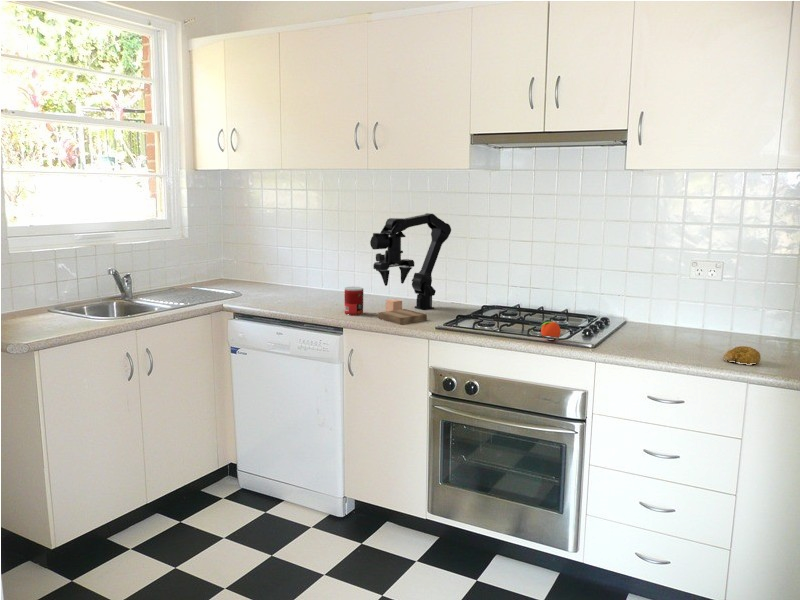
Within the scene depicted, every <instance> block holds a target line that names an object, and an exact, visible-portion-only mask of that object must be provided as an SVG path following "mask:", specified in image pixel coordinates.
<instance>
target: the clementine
mask: <svg viewBox="0 0 800 600" xmlns="http://www.w3.org/2000/svg"><path fill="white" fill-rule="evenodd" d="M539 327H540V328H539V329H541V330H540V334H541V336H542V335H543V336H551V337H558V338H559V337H560V336H561V333H562V331H561V327H560V325H559V324H558V323H557V322H555V321H552V320H551V321H545V322H543V323H542V324H541V325H540V326H539ZM543 336H542V337H543Z"/></svg>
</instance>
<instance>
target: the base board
mask: <svg viewBox="0 0 800 600" xmlns="http://www.w3.org/2000/svg"><path fill="white" fill-rule="evenodd" d="M377 313H378V315H377V316H378V317H377V318H379V320H382V319H383V321H385V320H386V322H389V321H390V323H394V324H398V325H405V323H406V324H411V323H412V322H413V323H417V322H418V321H419V322H424V320H425V321H427V319H428V318H427V316H428V314H427V313H424V312H419V311H414V310H410V309H406V308H402V309H400V310H393V311H386V310H385V311H381V312H377Z"/></svg>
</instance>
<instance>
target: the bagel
mask: <svg viewBox="0 0 800 600" xmlns="http://www.w3.org/2000/svg"><path fill="white" fill-rule="evenodd" d="M723 359H725V360H728V361H735V362H740V363H747V364H750V363H758V364H759V363H760V362H761V353H760V351H758V350H756V348H754V347H751V346H747V345H746V346H743V345H742V346H741V345H740V346H735V347H733V348H732V349H729V350H728V351H726V352H725V354H724V355H723V357H722V360H723Z"/></svg>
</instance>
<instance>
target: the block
mask: <svg viewBox="0 0 800 600" xmlns="http://www.w3.org/2000/svg"><path fill="white" fill-rule="evenodd" d="M400 309H403V300H401V299H397V298H392V299H386V300H385V312H386V311H393V310H400Z"/></svg>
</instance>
